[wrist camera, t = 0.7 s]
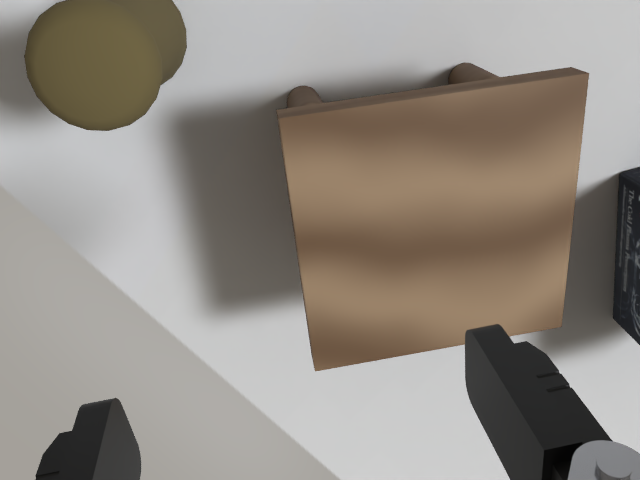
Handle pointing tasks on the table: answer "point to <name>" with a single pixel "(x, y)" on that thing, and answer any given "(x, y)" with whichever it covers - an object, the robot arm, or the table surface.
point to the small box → (628, 255)
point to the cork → (104, 58)
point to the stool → (433, 210)
